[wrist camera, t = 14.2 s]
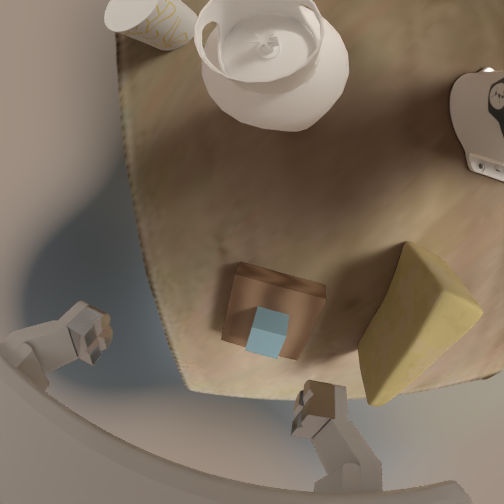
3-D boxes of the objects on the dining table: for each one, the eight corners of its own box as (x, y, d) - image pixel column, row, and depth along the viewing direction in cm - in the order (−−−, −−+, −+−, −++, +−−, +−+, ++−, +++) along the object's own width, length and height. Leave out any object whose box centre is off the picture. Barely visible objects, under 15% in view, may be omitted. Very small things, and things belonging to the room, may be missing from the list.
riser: (325, 285, 42) (326, 299, 39) (298, 345, 49) (297, 360, 45) (240, 261, 43) (234, 274, 40) (226, 325, 50) (220, 339, 46)
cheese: (379, 353, 47) (391, 415, 33) (338, 339, 47) (342, 406, 33) (446, 260, 36) (488, 314, 23) (405, 237, 37) (445, 290, 23)
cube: (289, 314, 41) (286, 336, 37) (280, 337, 43) (276, 358, 39) (257, 306, 41) (251, 327, 37) (251, 329, 44) (244, 350, 39)
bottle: (327, 128, 33) (390, 118, 8) (267, 135, 34) (171, 148, 10) (316, 72, 29) (338, -53, 4) (257, 80, 31) (147, -13, 6)
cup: (159, 59, 32) (112, 43, 21) (144, 26, 29) (99, 6, 18) (206, 33, 29) (169, 4, 18) (188, -1, 26) (150, -31, 16)
